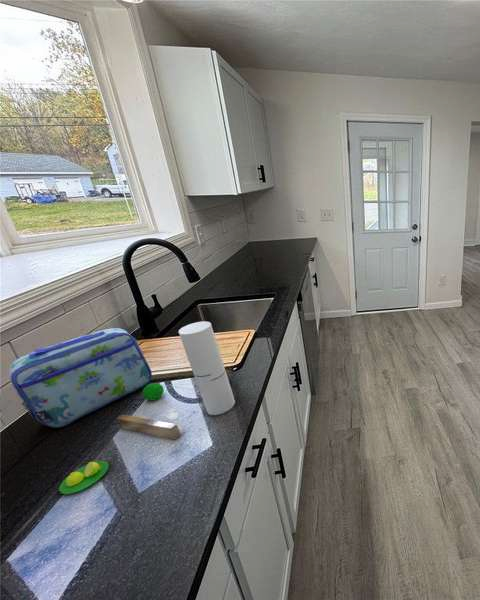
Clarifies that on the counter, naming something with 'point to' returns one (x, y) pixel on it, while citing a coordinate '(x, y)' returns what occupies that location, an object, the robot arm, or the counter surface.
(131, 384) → the lunch box
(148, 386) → the polyhedron
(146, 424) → the rail
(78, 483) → the plate of yellow fruit
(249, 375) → the counter surface
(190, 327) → the cylindrical container
